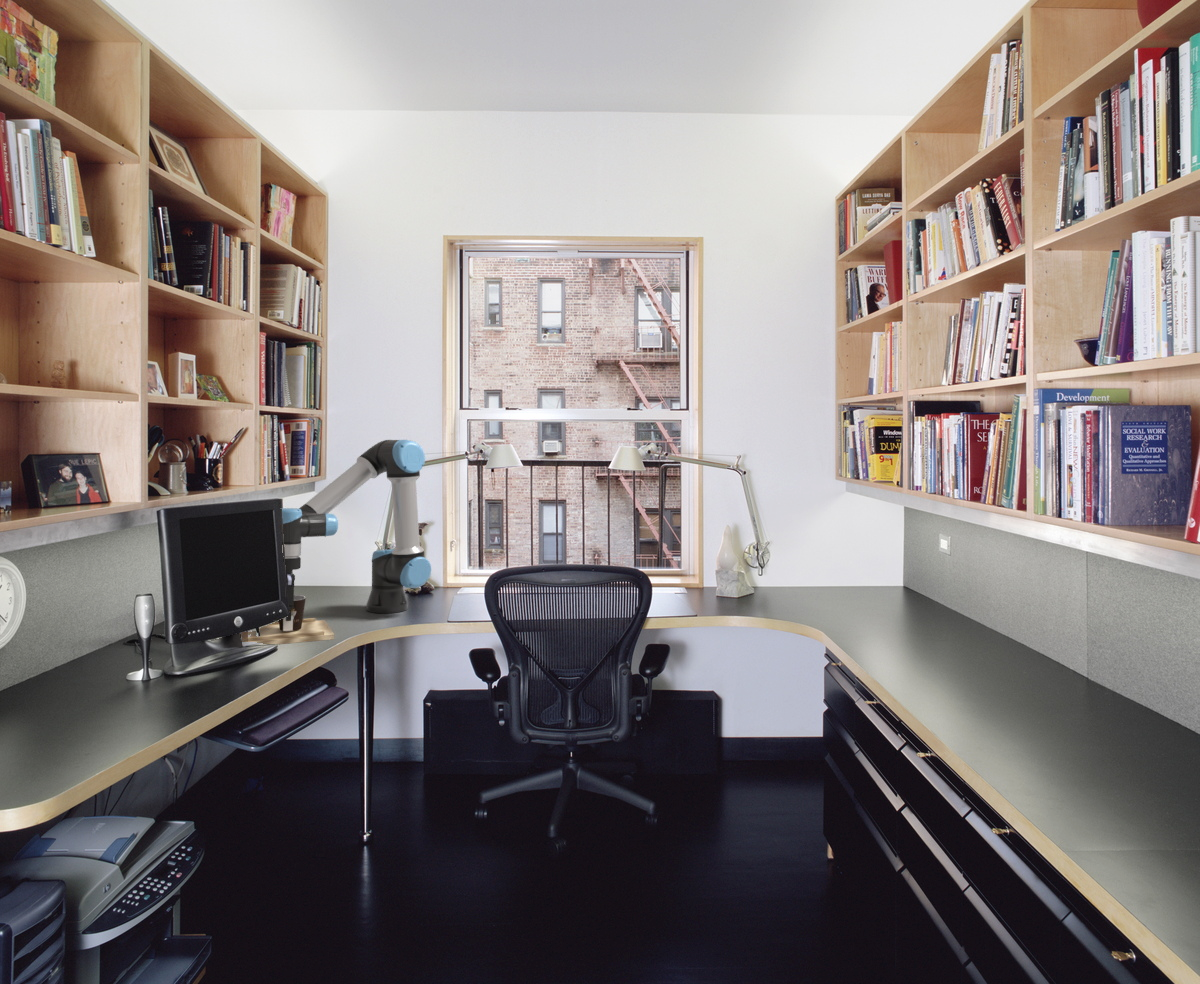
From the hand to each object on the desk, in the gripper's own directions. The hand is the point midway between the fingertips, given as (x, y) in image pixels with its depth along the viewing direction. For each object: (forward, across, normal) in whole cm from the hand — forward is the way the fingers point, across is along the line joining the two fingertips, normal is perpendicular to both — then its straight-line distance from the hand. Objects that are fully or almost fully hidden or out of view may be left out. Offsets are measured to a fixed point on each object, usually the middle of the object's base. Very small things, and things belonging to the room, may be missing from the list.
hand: (286, 628), depth 225 cm
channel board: (+2, 0, 0) cm, 2 cm away
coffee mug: (0, -1, 0) cm, 1 cm away
